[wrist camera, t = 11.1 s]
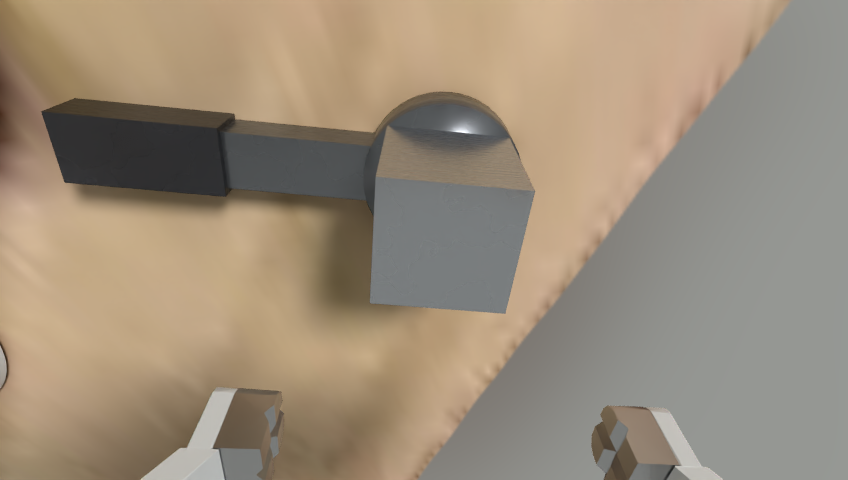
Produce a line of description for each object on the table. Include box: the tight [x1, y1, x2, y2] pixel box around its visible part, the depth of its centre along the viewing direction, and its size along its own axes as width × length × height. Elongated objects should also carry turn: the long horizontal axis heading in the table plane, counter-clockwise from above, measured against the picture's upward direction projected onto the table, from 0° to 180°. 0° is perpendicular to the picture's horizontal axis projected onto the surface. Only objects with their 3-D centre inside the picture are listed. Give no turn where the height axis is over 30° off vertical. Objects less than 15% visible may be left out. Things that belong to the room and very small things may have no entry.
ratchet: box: [41, 92, 521, 216], centre depth 22 cm, size 23×8×6 cm, turn 84°
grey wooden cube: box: [370, 126, 535, 314], centre depth 21 cm, size 6×6×6 cm
